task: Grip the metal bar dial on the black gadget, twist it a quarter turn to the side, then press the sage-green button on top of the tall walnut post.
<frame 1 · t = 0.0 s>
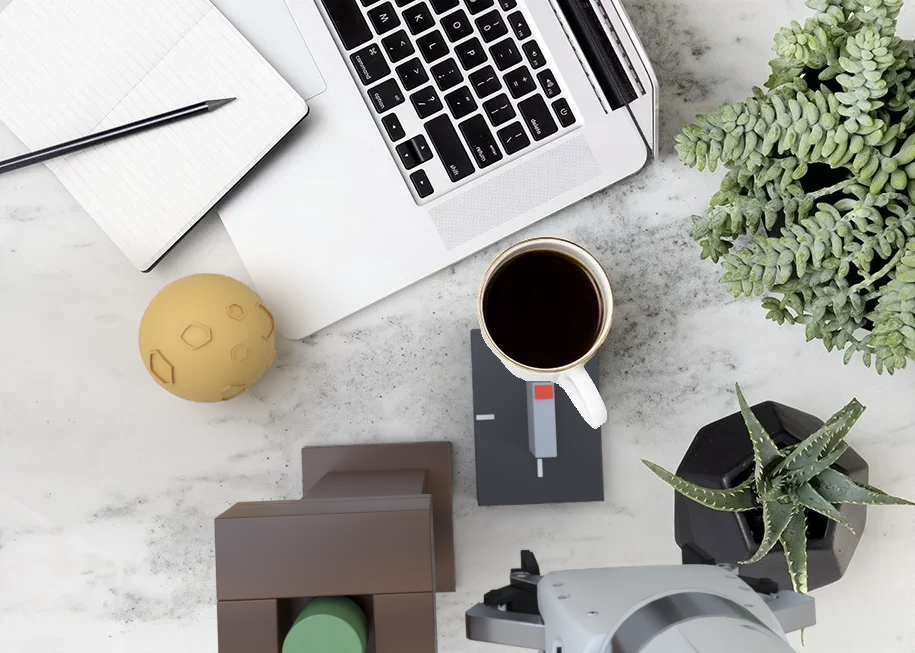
hand: (607, 571, 47), 18 cm above the table, tool pointing down, fingers open, 9 cm apart
stress ball: (227, 339, 64), on the table
green button: (327, 643, 36), point 28 cm above the table, slide at 0.0 cm
gadget: (534, 412, 64), on the table
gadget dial: (541, 417, 59), point 5 cm above the table, hinge at 0.0°
post: (379, 516, 64), on the table
brown blocky frame: (338, 615, 40), resting on post
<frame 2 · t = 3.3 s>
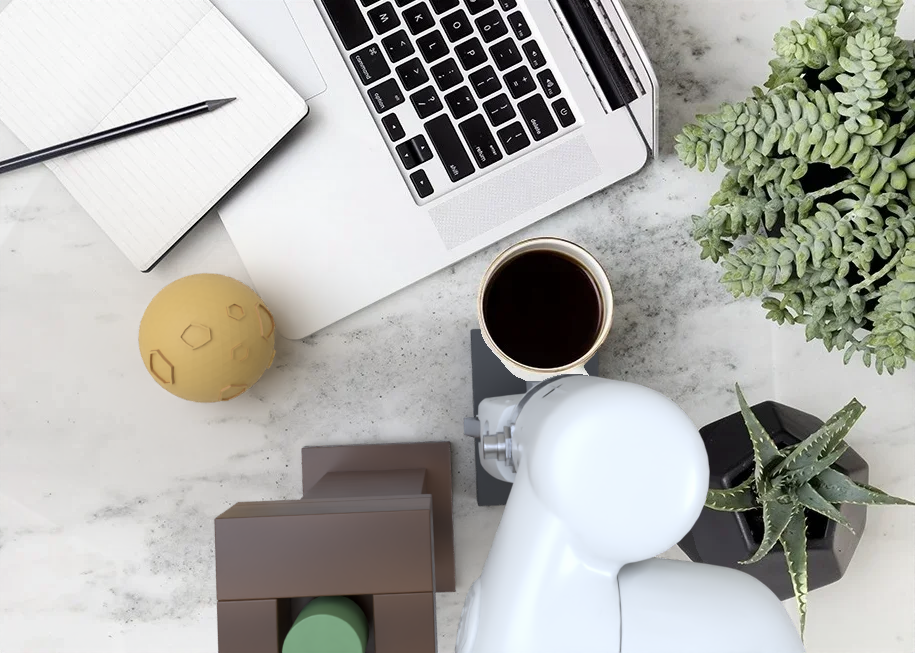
hand: (538, 415, 61), 3 cm above the table, tool pointing down, fingers closed on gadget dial
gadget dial: (541, 417, 59), point 5 cm above the table, hinge at 0.0°, touching gripper
everything else where it was.
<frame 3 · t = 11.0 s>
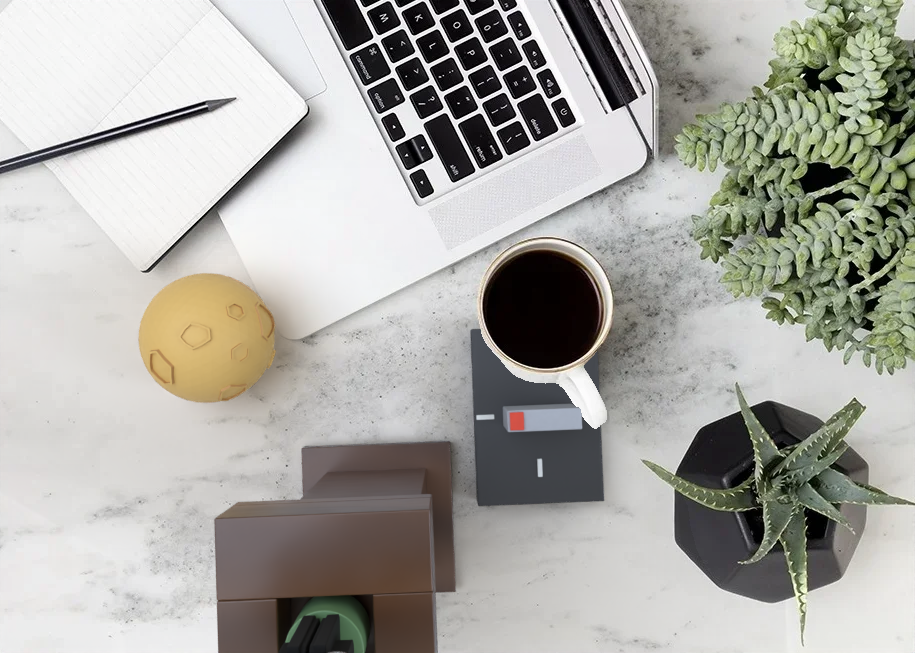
hand: (323, 648, 35), 29 cm above the table, tool pointing down, fingers closed
green button: (328, 639, 37), point 27 cm above the table, slide at -0.5 cm, touching gripper
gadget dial: (541, 417, 59), point 5 cm above the table, hinge at 90.0°
everything else where it was.
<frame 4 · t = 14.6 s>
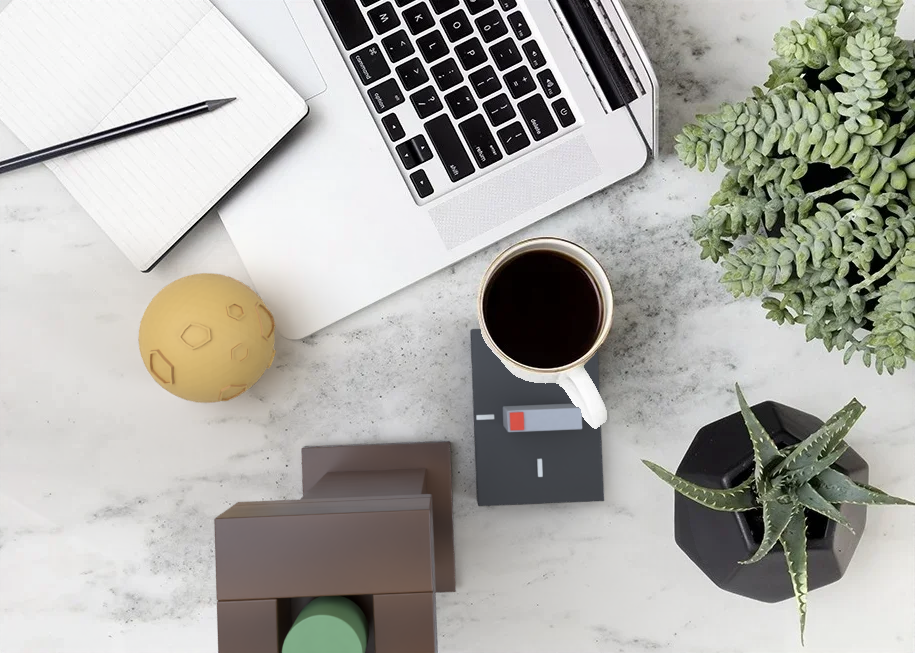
green button: (327, 643, 36), point 28 cm above the table, slide at 0.1 cm
everything else where it was.
at the end: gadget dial at +90° (first picture: +0°); green button pushed in 1.0 cm at the most during the clip, back to where it started at the end; green button slide at 0.1 cm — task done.
